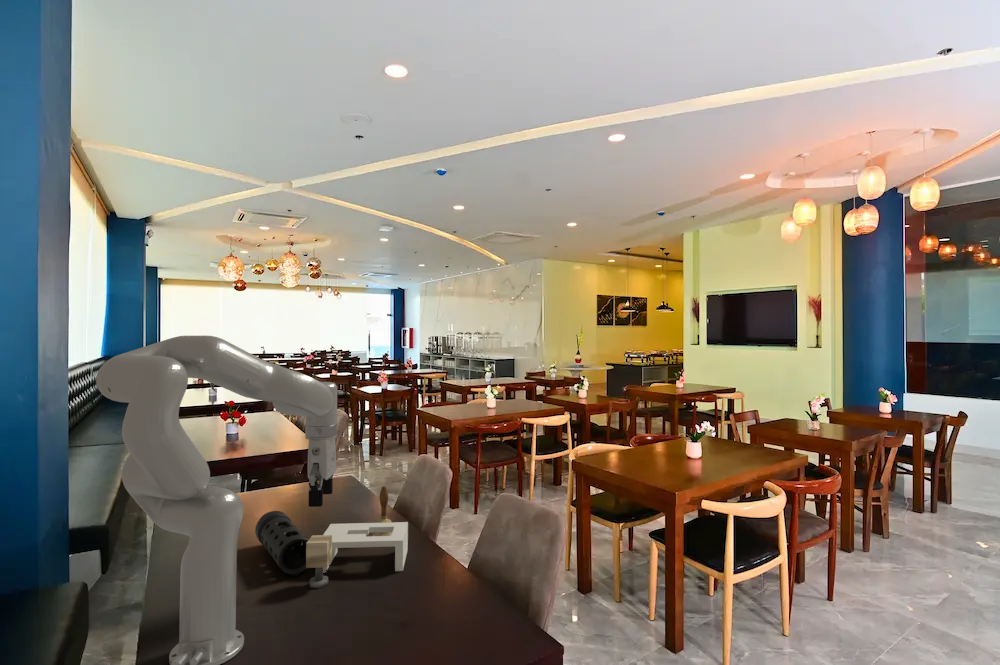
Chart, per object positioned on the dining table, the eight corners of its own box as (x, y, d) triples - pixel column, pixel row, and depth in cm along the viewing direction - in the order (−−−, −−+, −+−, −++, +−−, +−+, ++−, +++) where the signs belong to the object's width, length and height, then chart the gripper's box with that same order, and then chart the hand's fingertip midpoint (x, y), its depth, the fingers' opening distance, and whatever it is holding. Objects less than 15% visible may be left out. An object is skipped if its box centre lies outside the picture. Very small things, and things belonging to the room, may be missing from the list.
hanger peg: (326, 588, 125) (327, 542, 125) (305, 589, 124) (306, 543, 125) (331, 579, 130) (332, 534, 130) (311, 580, 129) (312, 535, 130)
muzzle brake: (276, 583, 128) (277, 541, 128) (253, 547, 150) (253, 512, 150) (315, 573, 133) (316, 533, 134) (287, 540, 156) (287, 506, 156)
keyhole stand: (402, 571, 135) (403, 540, 135) (317, 573, 133) (317, 542, 133) (407, 549, 149) (407, 522, 149) (330, 551, 147) (330, 523, 147)
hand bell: (371, 545, 152) (371, 491, 152) (369, 535, 160) (369, 484, 160) (399, 542, 154) (400, 489, 155) (396, 532, 162) (396, 482, 163)
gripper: (328, 437, 120) (327, 511, 119) (344, 425, 137) (343, 489, 137) (295, 438, 119) (294, 512, 119) (315, 425, 136) (315, 490, 136)
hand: (321, 499), depth 128 cm, fingers open, 9 cm apart
